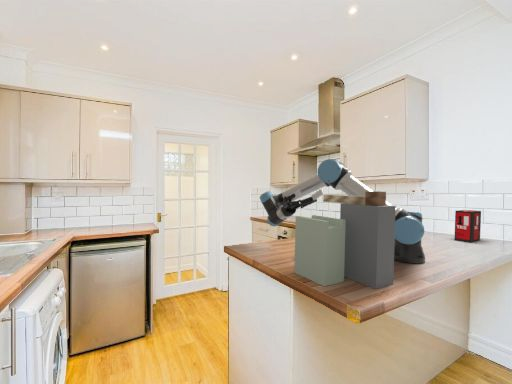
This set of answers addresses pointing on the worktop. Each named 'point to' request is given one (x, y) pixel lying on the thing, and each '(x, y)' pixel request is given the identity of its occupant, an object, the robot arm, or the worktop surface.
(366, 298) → the worktop surface
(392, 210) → the tall grey upright slab
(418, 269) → the worktop surface
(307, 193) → the robot arm
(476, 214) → the cleaning product box
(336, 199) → the mallet
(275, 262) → the worktop surface
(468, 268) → the worktop surface
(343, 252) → the sage green tall box
